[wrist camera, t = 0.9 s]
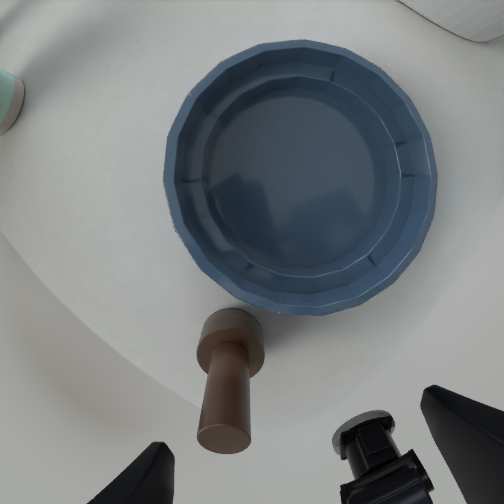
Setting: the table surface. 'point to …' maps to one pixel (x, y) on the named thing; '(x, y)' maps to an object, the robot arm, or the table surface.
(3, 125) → the coffee cup
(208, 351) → the muddler
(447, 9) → the white wheel
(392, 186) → the bowl
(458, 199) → the table surface
